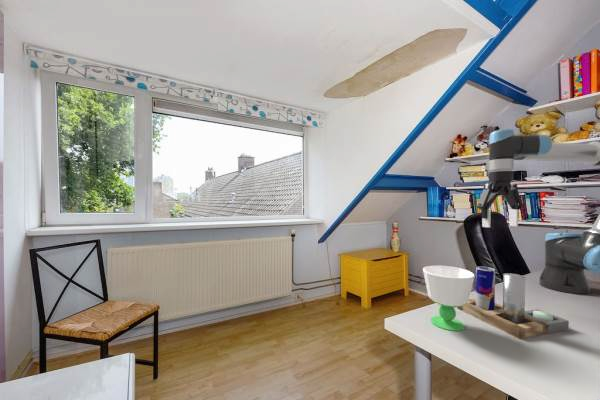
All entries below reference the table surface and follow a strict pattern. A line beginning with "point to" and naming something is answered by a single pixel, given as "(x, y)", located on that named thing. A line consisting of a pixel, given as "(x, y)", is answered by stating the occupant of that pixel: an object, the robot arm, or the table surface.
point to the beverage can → (485, 288)
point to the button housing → (552, 322)
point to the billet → (514, 298)
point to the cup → (448, 293)
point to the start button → (543, 315)
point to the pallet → (496, 319)
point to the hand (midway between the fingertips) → (500, 226)
